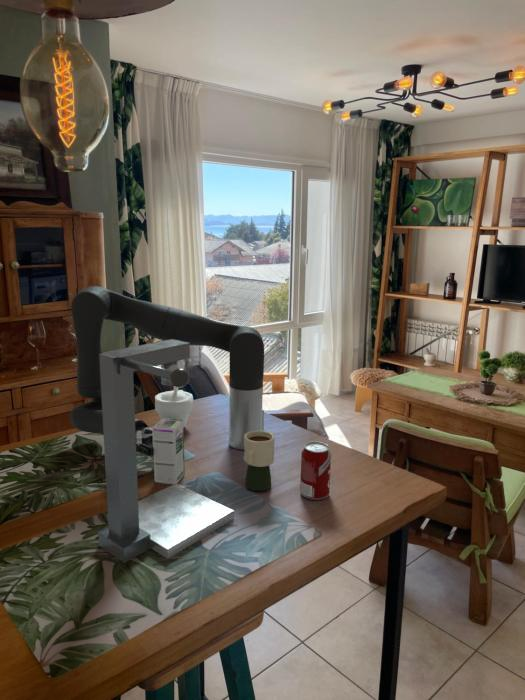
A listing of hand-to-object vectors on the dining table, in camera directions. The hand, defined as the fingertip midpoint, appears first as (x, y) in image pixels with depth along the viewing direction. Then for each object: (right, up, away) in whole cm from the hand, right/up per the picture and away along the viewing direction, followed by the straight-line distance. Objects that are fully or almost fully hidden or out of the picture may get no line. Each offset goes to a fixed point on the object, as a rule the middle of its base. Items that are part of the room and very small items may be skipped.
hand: (166, 446), depth 125 cm
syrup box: (0, -8, +1) cm, 8 cm away
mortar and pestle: (-4, 0, +34) cm, 34 cm away
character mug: (+22, -9, -2) cm, 24 cm away
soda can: (+35, -10, -5) cm, 37 cm away
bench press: (+6, -14, -22) cm, 26 cm away
